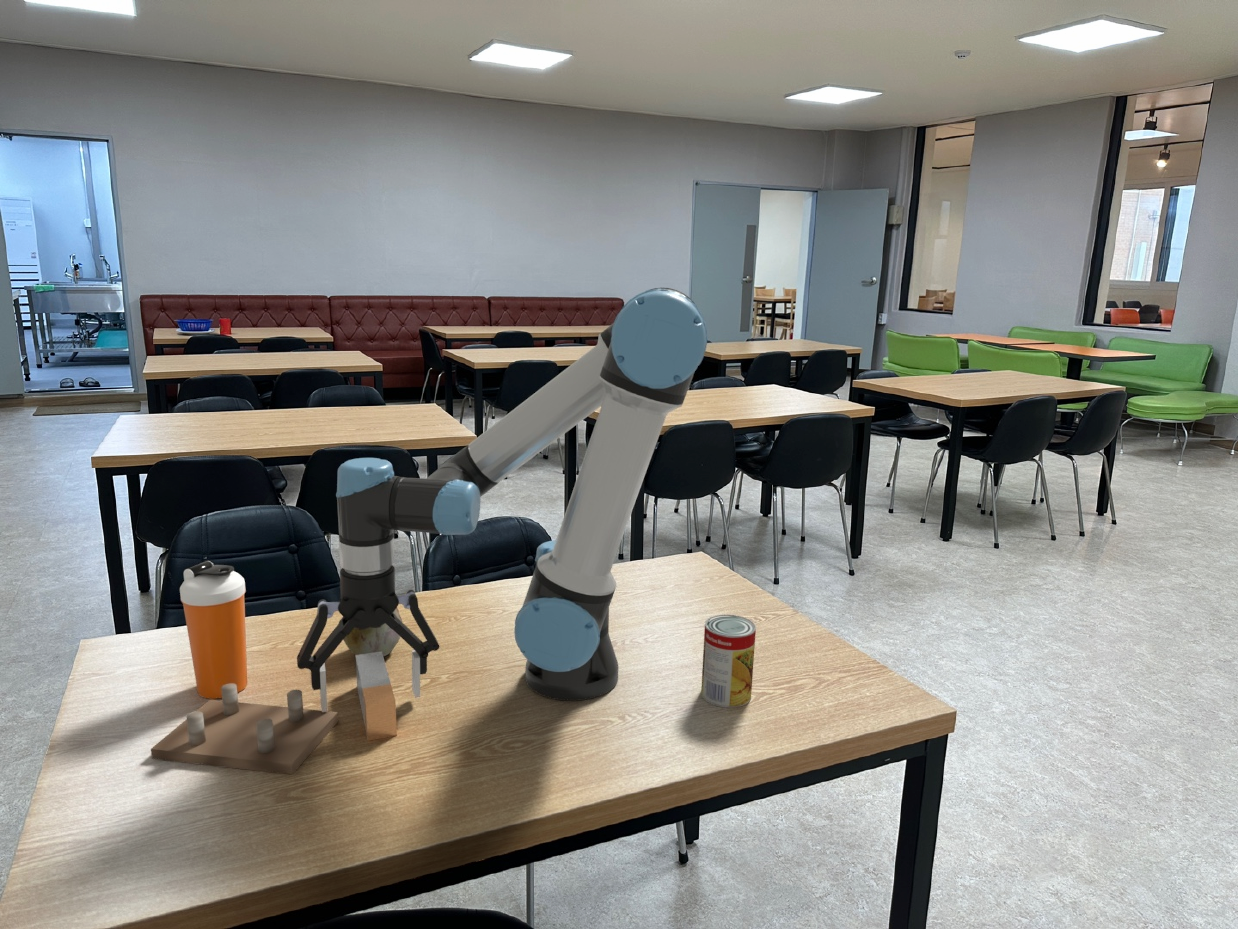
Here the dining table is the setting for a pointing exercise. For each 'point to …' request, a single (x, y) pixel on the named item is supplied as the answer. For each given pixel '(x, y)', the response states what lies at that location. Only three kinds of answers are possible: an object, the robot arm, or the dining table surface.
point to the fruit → (373, 639)
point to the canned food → (728, 660)
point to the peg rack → (247, 734)
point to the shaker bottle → (215, 626)
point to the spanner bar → (376, 696)
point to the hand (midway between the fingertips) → (371, 700)
